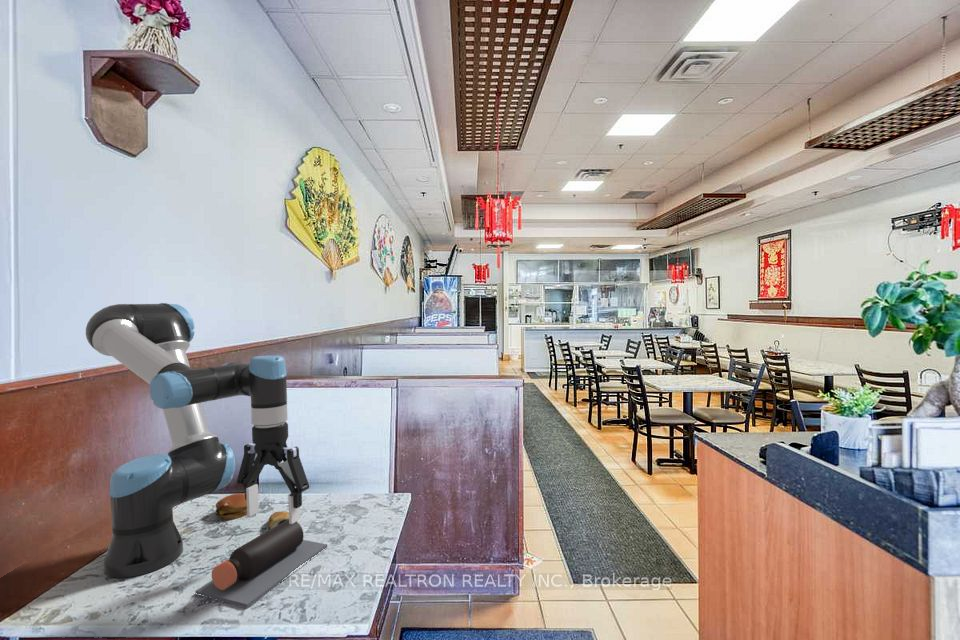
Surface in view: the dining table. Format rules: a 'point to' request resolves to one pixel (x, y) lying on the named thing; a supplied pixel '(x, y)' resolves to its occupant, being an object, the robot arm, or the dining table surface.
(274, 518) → the pastry
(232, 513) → the burger
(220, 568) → the vinegar
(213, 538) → the dining table surface
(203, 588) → the mat
